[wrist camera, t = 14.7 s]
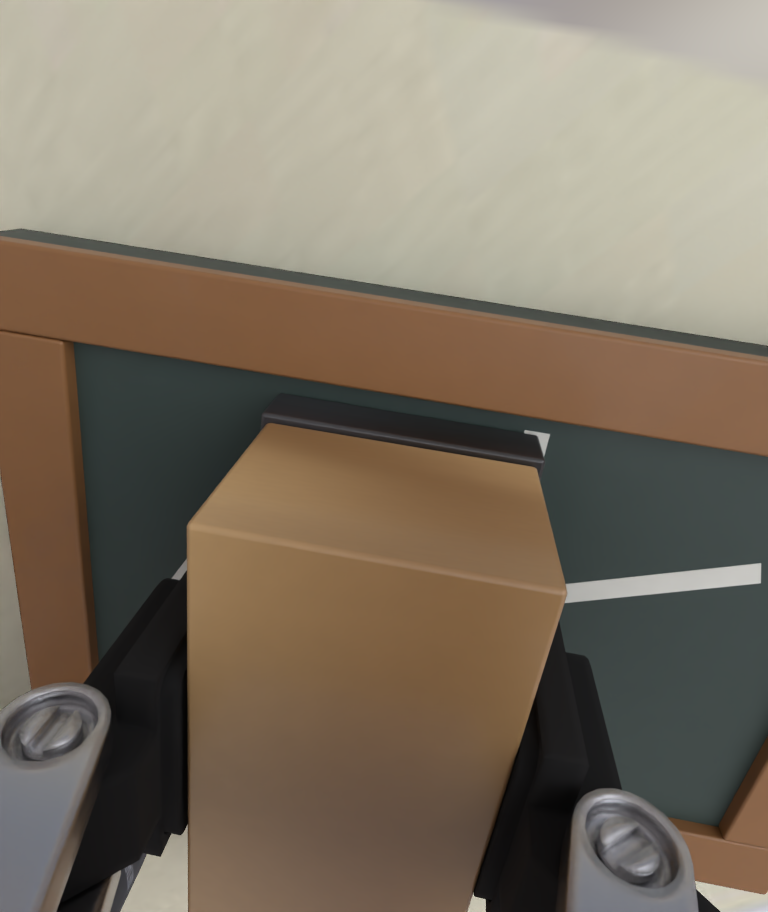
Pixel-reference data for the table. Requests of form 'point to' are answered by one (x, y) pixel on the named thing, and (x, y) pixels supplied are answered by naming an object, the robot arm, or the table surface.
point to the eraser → (361, 658)
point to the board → (423, 394)
